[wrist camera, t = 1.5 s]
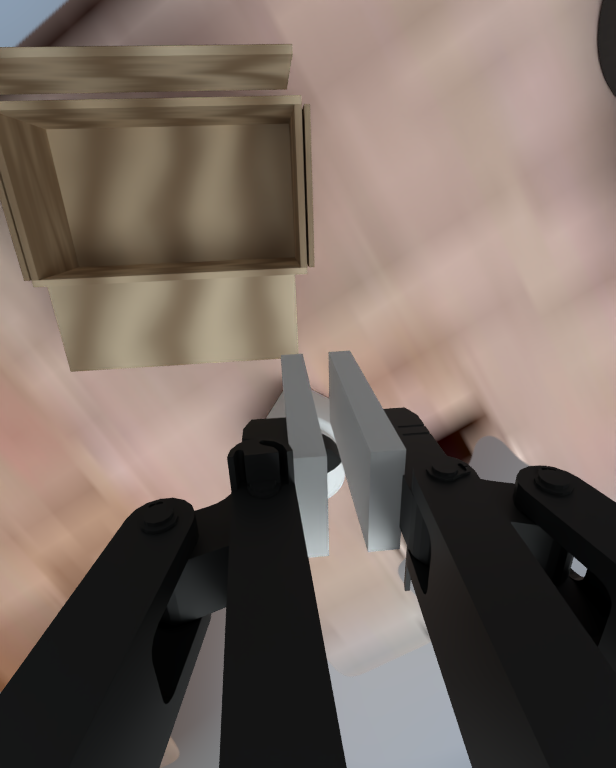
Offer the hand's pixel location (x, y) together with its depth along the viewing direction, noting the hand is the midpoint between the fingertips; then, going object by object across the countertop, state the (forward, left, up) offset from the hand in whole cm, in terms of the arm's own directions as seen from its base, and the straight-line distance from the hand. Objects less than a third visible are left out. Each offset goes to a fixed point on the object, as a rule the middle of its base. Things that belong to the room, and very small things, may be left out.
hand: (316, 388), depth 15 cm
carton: (+9, -3, -28) cm, 30 cm away
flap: (+9, -14, -20) cm, 26 cm away
